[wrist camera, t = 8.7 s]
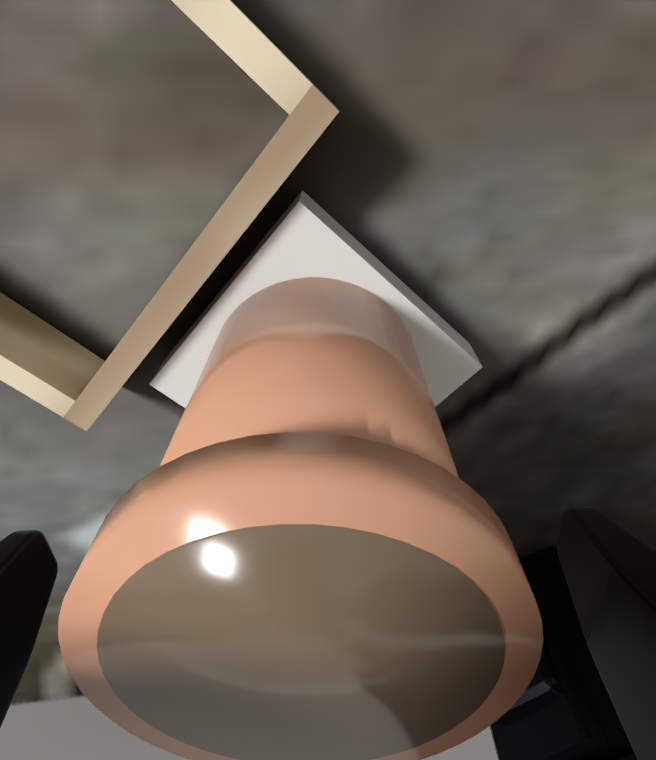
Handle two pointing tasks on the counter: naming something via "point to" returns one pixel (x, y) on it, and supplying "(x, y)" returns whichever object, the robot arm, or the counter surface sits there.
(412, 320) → the stone tile
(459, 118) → the counter surface
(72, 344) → the beige square frame
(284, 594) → the terracotta pot
